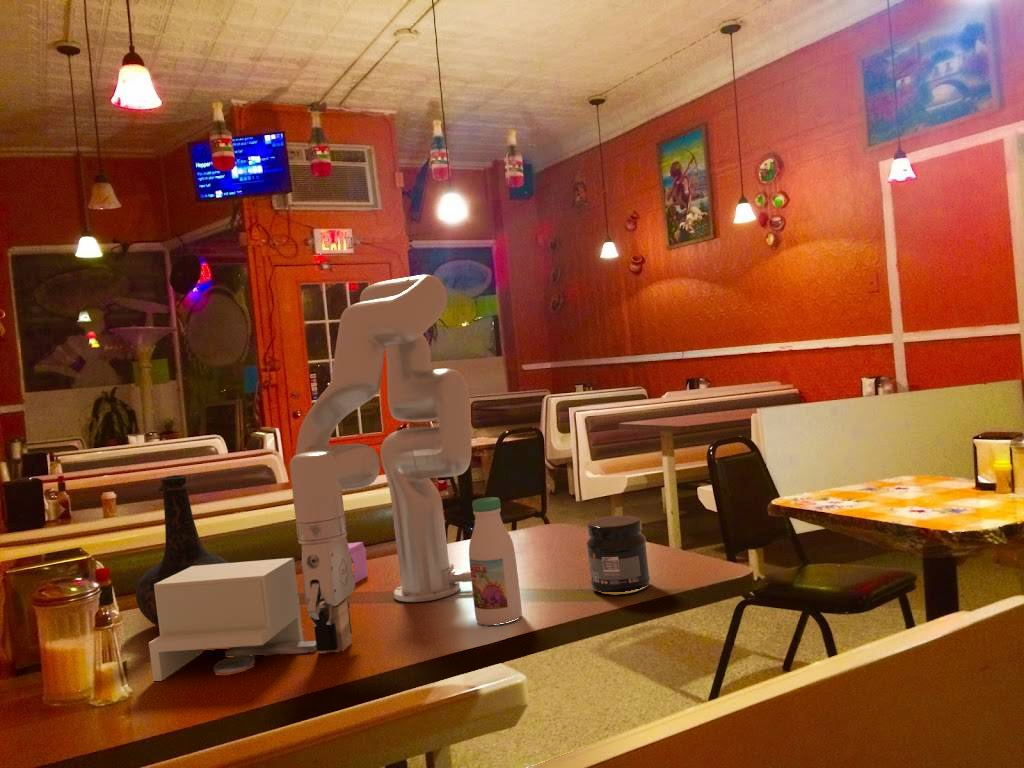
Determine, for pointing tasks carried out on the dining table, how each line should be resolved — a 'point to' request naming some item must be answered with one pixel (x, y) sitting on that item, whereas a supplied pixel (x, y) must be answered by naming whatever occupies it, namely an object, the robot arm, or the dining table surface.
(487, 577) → the milk bottle
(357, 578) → the toy chair
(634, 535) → the supplement container
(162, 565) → the glass bottle
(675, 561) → the dining table surface
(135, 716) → the dining table surface
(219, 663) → the token
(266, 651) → the tool
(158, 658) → the white box on stand
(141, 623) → the dining table surface
